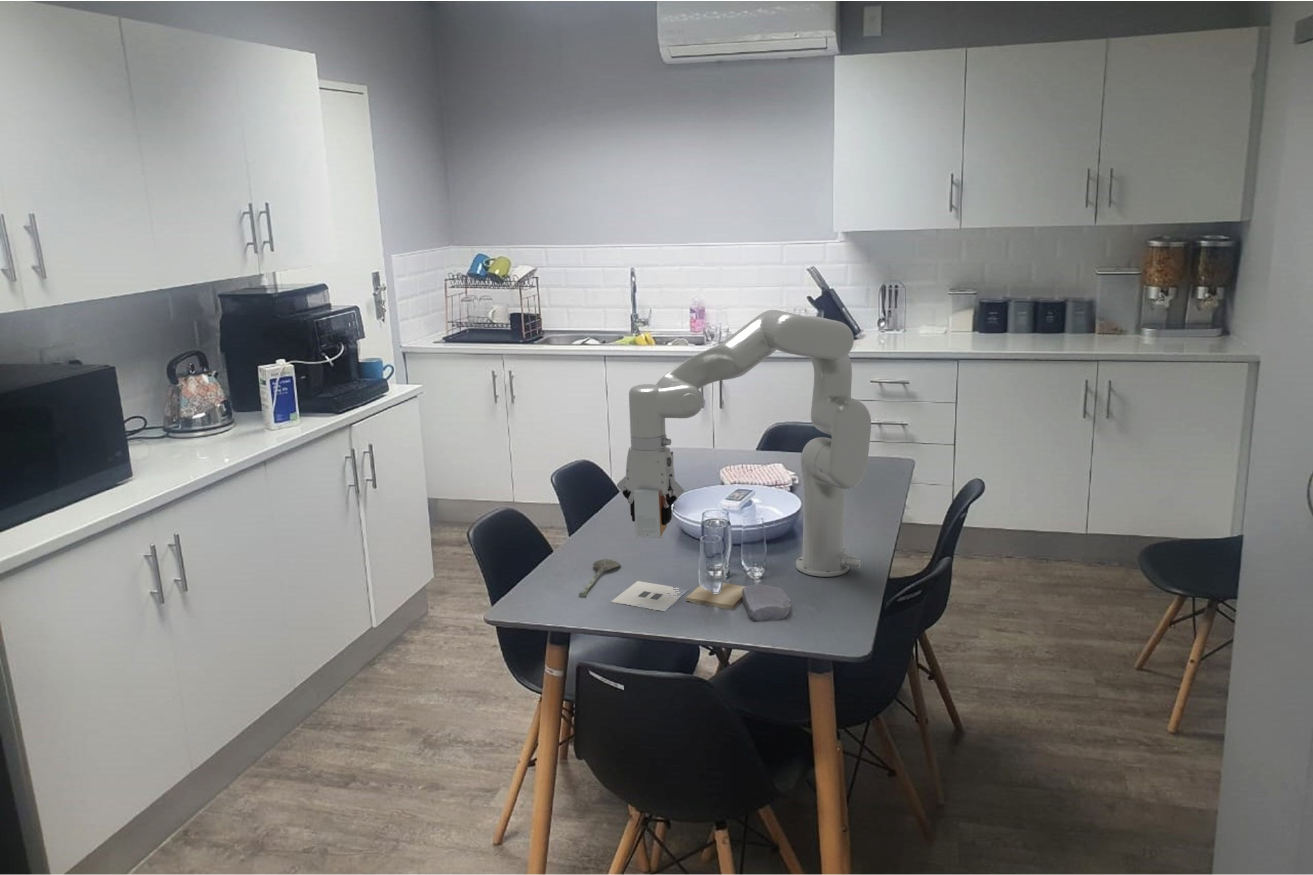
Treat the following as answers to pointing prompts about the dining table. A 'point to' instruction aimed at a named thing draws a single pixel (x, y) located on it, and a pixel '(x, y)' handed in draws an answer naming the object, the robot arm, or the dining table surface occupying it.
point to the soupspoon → (600, 571)
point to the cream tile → (647, 595)
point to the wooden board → (718, 596)
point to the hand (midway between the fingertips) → (651, 520)
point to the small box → (648, 514)
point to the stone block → (765, 602)
